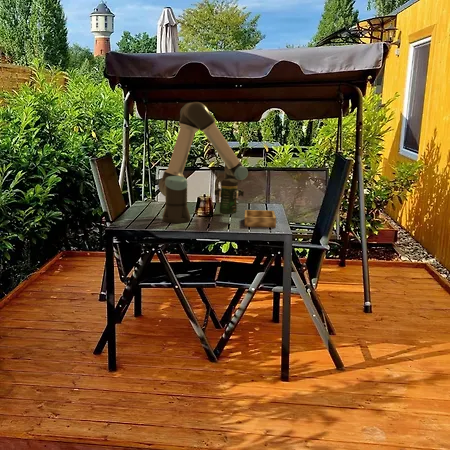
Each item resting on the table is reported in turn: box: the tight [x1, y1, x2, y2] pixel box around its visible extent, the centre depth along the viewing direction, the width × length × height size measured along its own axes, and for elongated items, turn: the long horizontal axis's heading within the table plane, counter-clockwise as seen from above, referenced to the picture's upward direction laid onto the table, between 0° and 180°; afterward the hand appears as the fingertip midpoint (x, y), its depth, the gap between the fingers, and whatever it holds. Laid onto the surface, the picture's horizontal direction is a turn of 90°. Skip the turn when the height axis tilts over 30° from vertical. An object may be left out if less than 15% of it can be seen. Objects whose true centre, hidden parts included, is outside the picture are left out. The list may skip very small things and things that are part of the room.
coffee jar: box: [219, 179, 239, 215], centre depth 248 cm, size 10×8×19 cm
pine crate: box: [244, 209, 277, 228], centre depth 250 cm, size 16×20×5 cm
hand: (228, 195), depth 244 cm, fingers closed on coffee jar, 8 cm apart
